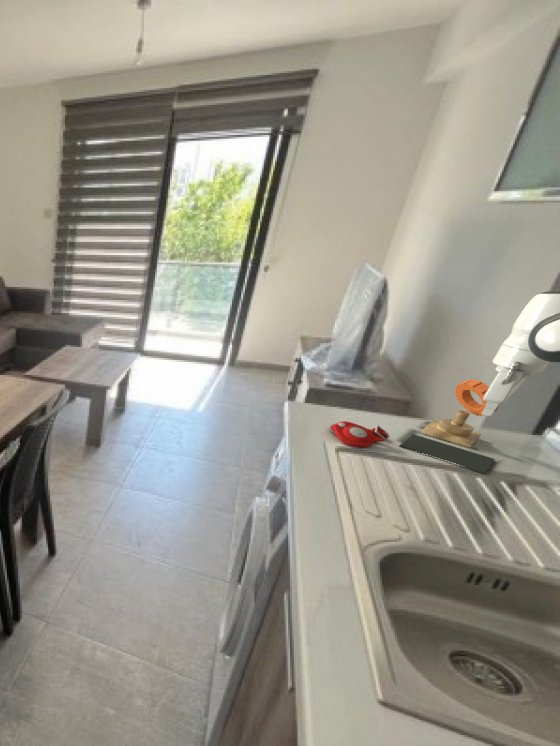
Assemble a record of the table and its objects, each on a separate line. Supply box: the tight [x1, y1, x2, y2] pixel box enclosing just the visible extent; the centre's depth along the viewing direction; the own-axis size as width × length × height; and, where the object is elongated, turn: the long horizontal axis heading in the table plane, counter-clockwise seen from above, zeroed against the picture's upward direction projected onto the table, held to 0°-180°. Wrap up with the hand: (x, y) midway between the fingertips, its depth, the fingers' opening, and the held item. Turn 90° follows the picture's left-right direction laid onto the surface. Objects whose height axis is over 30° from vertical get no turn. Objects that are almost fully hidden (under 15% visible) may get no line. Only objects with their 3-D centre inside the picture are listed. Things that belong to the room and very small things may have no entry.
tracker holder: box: [330, 420, 391, 449], centre depth 123 cm, size 12×4×10 cm
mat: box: [398, 433, 496, 475], centre depth 119 cm, size 16×12×1 cm
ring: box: [454, 379, 500, 417], centre depth 124 cm, size 10×10×2 cm
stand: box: [421, 409, 482, 449], centre depth 127 cm, size 10×10×7 cm
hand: (488, 412), depth 122 cm, fingers closed on ring, 5 cm apart
